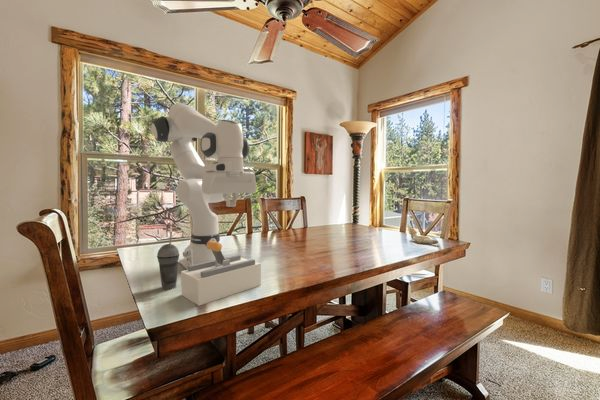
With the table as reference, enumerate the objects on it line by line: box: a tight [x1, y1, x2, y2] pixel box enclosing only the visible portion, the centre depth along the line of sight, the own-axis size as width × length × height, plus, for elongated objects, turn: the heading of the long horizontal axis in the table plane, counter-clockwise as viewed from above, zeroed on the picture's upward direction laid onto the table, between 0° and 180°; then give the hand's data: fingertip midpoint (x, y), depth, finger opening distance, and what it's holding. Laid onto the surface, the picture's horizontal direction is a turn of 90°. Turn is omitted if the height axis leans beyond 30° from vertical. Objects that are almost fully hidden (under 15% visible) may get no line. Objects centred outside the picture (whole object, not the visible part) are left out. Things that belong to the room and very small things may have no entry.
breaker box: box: [180, 257, 262, 307], centre depth 99 cm, size 12×24×11 cm, turn 136°
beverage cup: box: [156, 231, 180, 290], centre depth 101 cm, size 7×7×20 cm
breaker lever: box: [206, 241, 225, 265], centre depth 97 cm, size 5×3×8 cm, turn 46°
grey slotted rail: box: [187, 254, 256, 278], centre depth 99 cm, size 11×20×2 cm, turn 136°
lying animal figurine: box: [407, 224, 439, 245], centre depth 177 cm, size 9×21×10 cm, turn 31°
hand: (231, 206), depth 100 cm, fingers closed
